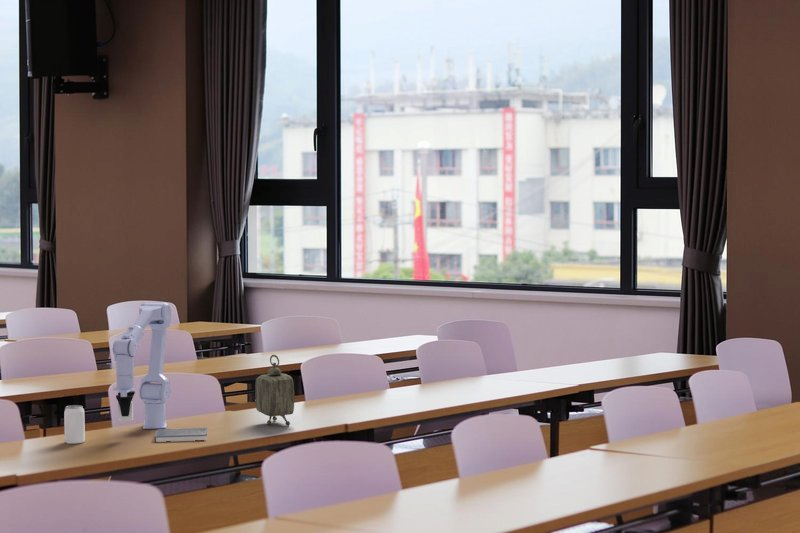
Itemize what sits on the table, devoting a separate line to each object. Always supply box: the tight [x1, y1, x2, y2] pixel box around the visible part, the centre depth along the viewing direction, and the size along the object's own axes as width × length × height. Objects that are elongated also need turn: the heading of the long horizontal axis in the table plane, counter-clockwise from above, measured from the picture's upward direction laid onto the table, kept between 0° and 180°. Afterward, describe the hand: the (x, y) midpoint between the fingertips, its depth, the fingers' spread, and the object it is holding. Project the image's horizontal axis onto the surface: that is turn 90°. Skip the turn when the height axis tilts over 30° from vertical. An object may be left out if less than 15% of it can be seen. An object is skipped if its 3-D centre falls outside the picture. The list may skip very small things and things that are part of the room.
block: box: [117, 400, 134, 422], centre depth 394 cm, size 4×4×6 cm
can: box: [63, 404, 86, 445], centre depth 390 cm, size 6×6×12 cm
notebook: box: [154, 427, 208, 443], centre depth 398 cm, size 12×17×2 cm
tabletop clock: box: [254, 354, 295, 426], centre depth 420 cm, size 14×9×25 cm, turn 32°
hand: (125, 414), depth 395 cm, fingers closed on block, 4 cm apart
